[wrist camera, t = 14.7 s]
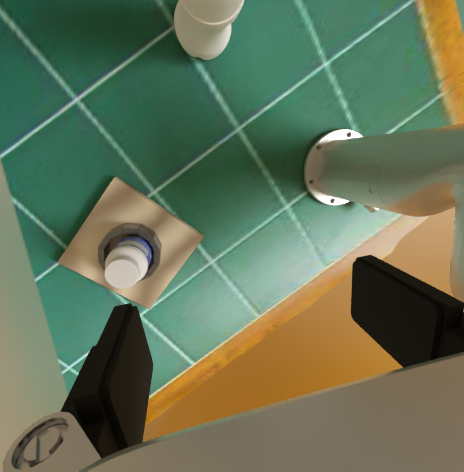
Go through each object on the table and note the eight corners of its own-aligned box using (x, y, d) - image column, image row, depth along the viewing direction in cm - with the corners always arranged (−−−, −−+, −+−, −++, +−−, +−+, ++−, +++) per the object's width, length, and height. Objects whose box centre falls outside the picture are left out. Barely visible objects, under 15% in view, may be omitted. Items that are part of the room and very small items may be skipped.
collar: (171, 242, 41) (171, 248, 38) (142, 282, 42) (139, 291, 39) (123, 212, 38) (118, 216, 35) (93, 256, 39) (86, 263, 36)
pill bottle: (139, 270, 41) (127, 302, 32) (110, 251, 39) (88, 279, 30) (160, 245, 40) (154, 271, 31) (131, 225, 39) (115, 246, 29)
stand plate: (203, 234, 43) (203, 237, 41) (150, 304, 45) (149, 309, 43) (116, 176, 38) (114, 177, 36) (61, 258, 40) (57, 262, 38)
